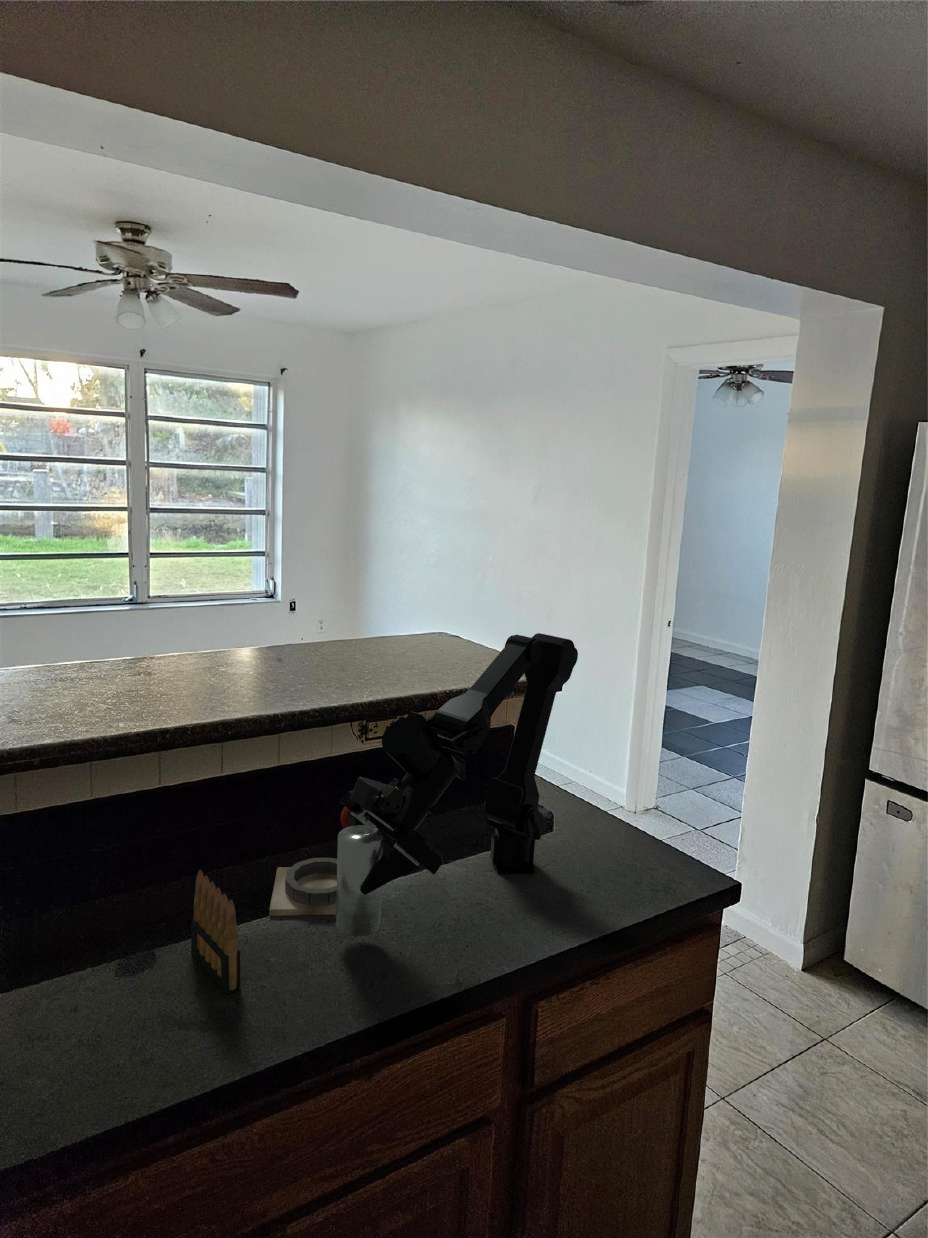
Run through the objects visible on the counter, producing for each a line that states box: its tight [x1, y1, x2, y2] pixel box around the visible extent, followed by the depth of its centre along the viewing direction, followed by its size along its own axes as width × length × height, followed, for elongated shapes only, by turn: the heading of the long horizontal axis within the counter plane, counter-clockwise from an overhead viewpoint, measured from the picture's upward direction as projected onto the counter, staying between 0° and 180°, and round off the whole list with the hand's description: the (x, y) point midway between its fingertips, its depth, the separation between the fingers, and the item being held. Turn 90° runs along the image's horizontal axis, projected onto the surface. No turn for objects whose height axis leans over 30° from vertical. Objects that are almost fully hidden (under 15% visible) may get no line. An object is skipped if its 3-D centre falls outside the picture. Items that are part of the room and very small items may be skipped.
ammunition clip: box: [190, 869, 241, 995], centre depth 99 cm, size 11×2×12 cm, turn 42°
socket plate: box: [268, 857, 337, 917], centre depth 119 cm, size 14×12×3 cm
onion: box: [340, 806, 351, 829], centre depth 137 cm, size 6×6×8 cm
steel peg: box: [335, 825, 384, 937], centre depth 106 cm, size 6×6×13 cm
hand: (350, 882), depth 105 cm, fingers closed on steel peg, 6 cm apart
